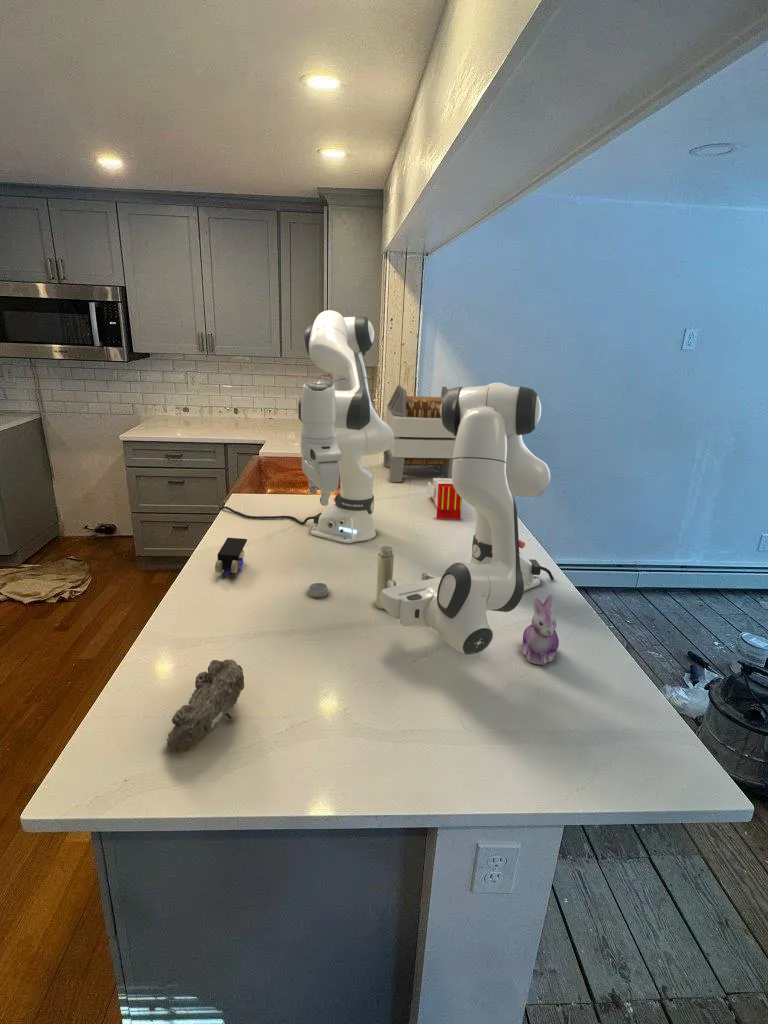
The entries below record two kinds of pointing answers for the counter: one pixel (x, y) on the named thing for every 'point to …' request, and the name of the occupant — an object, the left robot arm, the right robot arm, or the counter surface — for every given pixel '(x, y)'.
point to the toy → (445, 498)
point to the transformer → (417, 434)
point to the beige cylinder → (384, 571)
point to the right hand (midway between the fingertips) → (407, 579)
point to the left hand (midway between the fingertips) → (318, 499)
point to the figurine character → (230, 556)
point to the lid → (318, 590)
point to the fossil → (206, 705)
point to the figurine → (541, 634)
